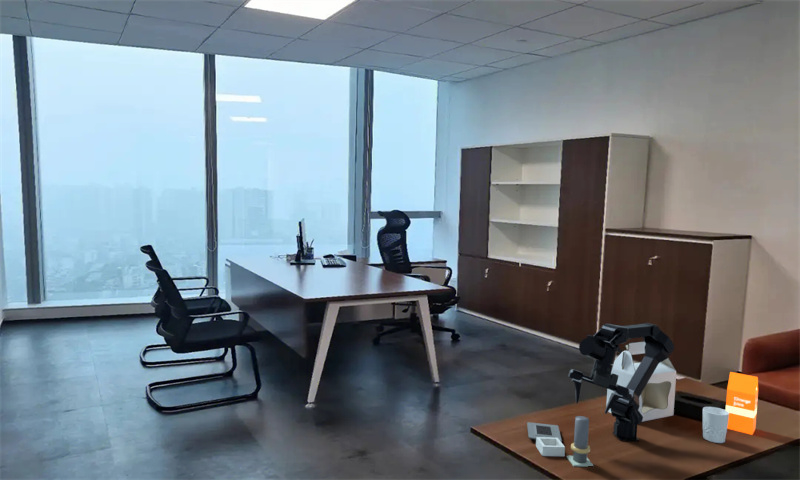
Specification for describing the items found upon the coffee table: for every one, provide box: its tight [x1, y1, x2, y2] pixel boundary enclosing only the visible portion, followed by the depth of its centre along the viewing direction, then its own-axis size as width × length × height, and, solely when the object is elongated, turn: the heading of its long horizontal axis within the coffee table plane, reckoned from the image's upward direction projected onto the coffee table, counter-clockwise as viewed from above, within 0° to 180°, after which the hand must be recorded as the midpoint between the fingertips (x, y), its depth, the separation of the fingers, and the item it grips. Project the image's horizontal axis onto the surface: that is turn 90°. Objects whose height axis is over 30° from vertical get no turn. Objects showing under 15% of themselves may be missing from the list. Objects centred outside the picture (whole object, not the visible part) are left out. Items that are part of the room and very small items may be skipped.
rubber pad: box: [566, 455, 594, 467], centre depth 168 cm, size 6×6×1 cm
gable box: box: [605, 341, 677, 423], centre depth 210 cm, size 22×13×28 cm, turn 116°
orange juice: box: [725, 371, 759, 436], centre depth 199 cm, size 8×9×20 cm
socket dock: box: [535, 437, 566, 457], centre depth 174 cm, size 7×7×3 cm
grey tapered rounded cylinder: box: [570, 415, 591, 463], centre depth 167 cm, size 6×6×13 cm
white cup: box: [702, 406, 729, 444], centre depth 188 cm, size 8×8×10 cm
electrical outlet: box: [526, 422, 563, 442], centre depth 186 cm, size 13×10×2 cm
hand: (590, 408), depth 178 cm, fingers open, 9 cm apart
